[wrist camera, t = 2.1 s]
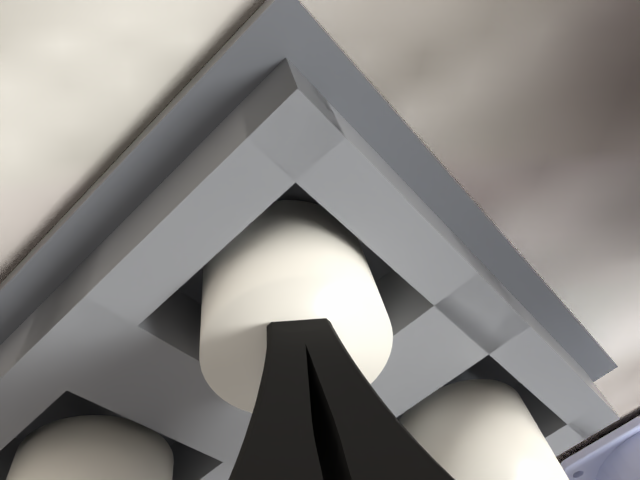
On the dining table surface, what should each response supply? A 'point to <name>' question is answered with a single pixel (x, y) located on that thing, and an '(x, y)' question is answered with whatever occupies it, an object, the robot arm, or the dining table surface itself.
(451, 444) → the button
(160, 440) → the button
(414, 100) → the dining table surface
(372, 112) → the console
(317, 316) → the button
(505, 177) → the dining table surface
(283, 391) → the robot arm
